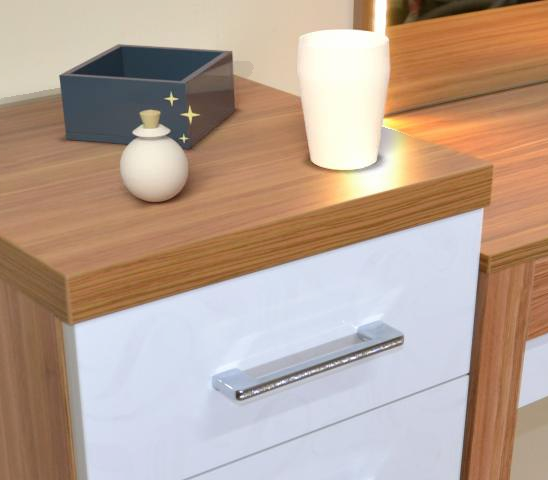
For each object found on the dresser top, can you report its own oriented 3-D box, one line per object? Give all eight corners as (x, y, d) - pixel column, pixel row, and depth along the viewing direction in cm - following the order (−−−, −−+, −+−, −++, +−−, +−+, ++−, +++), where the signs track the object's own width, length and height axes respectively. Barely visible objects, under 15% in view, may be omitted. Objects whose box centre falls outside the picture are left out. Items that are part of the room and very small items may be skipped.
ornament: (131, 187, 107) (122, 81, 102) (211, 190, 106) (205, 83, 102) (115, 210, 101) (104, 99, 97) (199, 213, 101) (192, 101, 96)
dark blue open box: (189, 149, 117) (184, 83, 114) (66, 139, 120) (58, 75, 117) (235, 111, 130) (232, 50, 127) (123, 103, 133) (118, 44, 130)
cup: (357, 181, 109) (358, 54, 104) (280, 164, 113) (277, 42, 108) (405, 156, 116) (408, 36, 110) (331, 141, 120) (330, 25, 115)
